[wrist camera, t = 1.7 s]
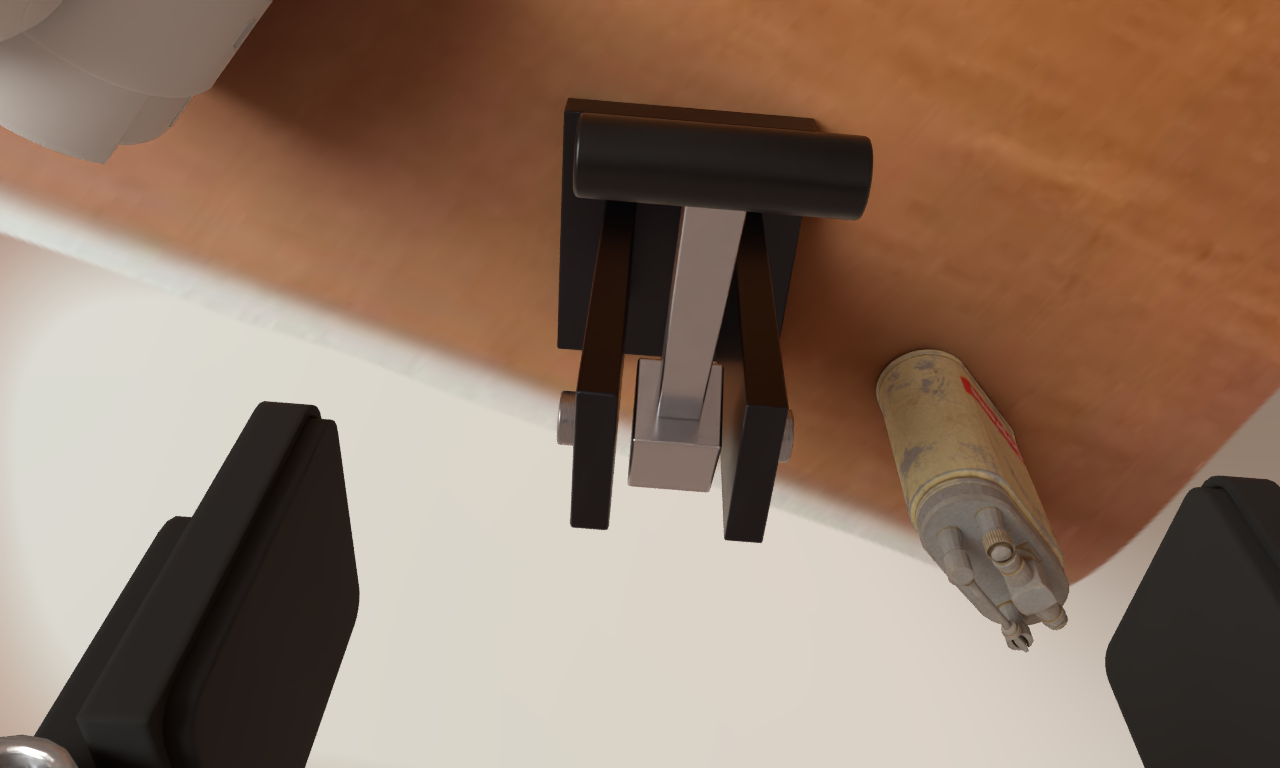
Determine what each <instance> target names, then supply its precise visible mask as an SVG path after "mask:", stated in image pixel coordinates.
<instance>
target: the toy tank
mask: <svg viewBox="0 0 1280 768" xmlns="http://www.w3.org/2000/svg"><path fill="white" fill-rule="evenodd" d="M272 1H273V0H0V125H1V126H3V127H5V128H6V129H8V130H10V131H12V132H14V133H16V134H18V135H19V136H21V137H23V138H26V139H28V140H30V141H32V142H34V143H36V144H39V145H41V146H43V147H46V148H48V149H51V150H54V151H56V152H59V153H62V154H65V155H68V156H71V157H75V158H78V159H82V160H86V161H90V162H95V163H101V164H105V163H106V162H107V161H108V159H109V158H110V156H111V155H112V153H113V152H114V150H115V149H116V147H117V146H118V145H132V144H140V143H144V142H148V141H151V140H153V139H156V138H157V137H159V136H161V135H162V134H163V133H164V132H165V131H166V130H167V129H168V128H169V127H172V125H173V124H174V123H175V121H176V120H177V119H178V117H179V116H180V114H181V113H182V111H183V110H184V109H185V107H186V106H187V104H188V103H189V101H190V100H191V99H192V97H193V96H194V95H198V94H201V93H203V92H205V91H207V90H209V89H210V88H211V87H212V86H213V84H214V83H215V81H216V80H217V79H218V77H219V76H220V74H221V73H222V72H223V70H224V69H225V67H226V66H227V64H228V63H229V62H230V60H231V59H232V57H233V56H234V55H235V53H236V52H237V50H238V49H239V48H240V46H241V45H242V43H243V42H244V40H245V39H246V38H247V36H248V35H249V33H250V32H251V31H252V29H253V28H254V26H255V25H256V24H257V22H258V21H259V19H260V18H261V17H262V15H263V14H264V12H265V11H266V9H267V8H268V7H269V5H270V4H271V2H272Z"/></svg>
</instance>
